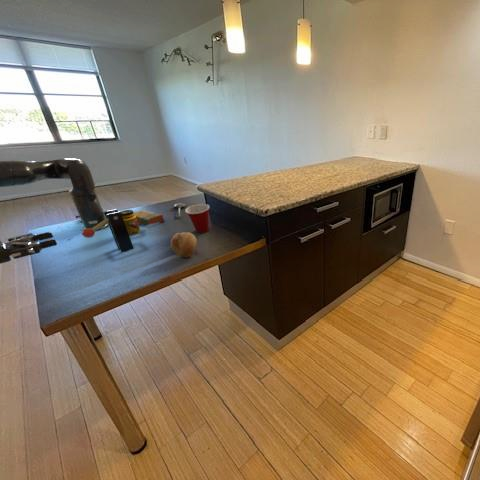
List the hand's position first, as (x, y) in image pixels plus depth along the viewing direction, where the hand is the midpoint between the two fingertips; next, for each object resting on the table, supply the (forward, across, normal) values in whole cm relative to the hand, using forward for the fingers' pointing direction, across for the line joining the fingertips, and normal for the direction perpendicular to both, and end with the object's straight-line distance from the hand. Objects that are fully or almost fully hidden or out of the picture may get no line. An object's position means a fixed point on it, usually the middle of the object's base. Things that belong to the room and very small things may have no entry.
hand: (54, 237), depth 91 cm
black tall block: (+18, 0, +13) cm, 23 cm away
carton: (+36, +28, +13) cm, 48 cm away
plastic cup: (+49, -4, +13) cm, 51 cm away
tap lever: (+14, 0, +1) cm, 14 cm away
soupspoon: (+54, +31, +13) cm, 63 cm away
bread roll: (+35, -18, +13) cm, 42 cm away
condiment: (+25, +15, +13) cm, 32 cm away
